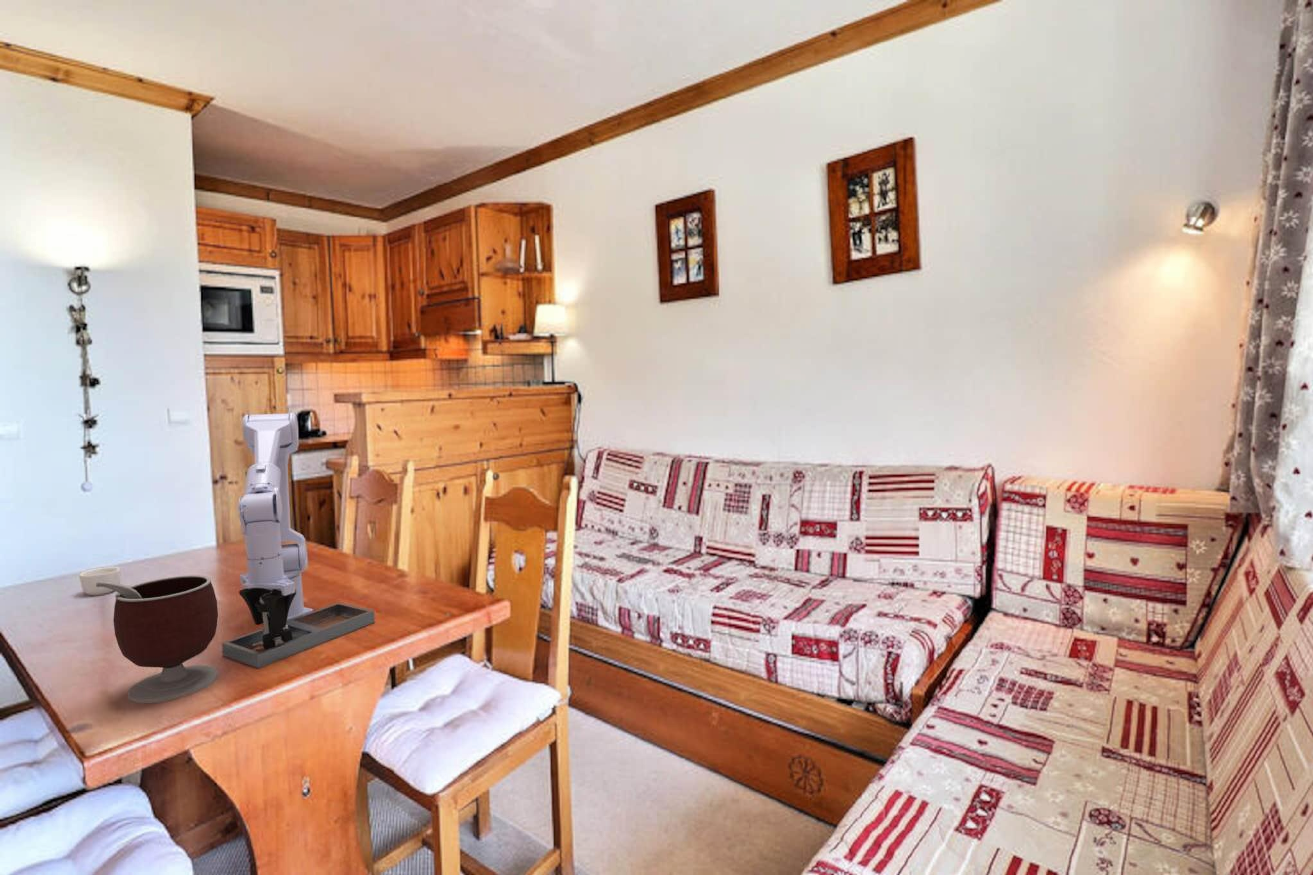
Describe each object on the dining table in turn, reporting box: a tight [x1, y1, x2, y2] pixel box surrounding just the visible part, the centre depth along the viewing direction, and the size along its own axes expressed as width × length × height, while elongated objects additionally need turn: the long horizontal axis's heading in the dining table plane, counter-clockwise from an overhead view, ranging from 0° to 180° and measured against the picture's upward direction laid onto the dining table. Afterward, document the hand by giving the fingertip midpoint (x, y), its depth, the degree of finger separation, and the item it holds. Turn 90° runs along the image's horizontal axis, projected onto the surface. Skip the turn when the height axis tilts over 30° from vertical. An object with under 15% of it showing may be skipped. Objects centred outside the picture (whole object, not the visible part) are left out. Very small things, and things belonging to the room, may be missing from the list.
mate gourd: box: [96, 574, 219, 704], centre depth 109 cm, size 16×14×20 cm
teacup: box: [78, 566, 121, 596], centre depth 161 cm, size 10×8×5 cm
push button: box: [252, 593, 293, 651], centre depth 124 cm, size 7×5×10 cm
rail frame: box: [221, 602, 376, 669], centre depth 129 cm, size 12×24×2 cm, turn 150°
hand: (270, 625), depth 124 cm, fingers closed on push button, 5 cm apart
